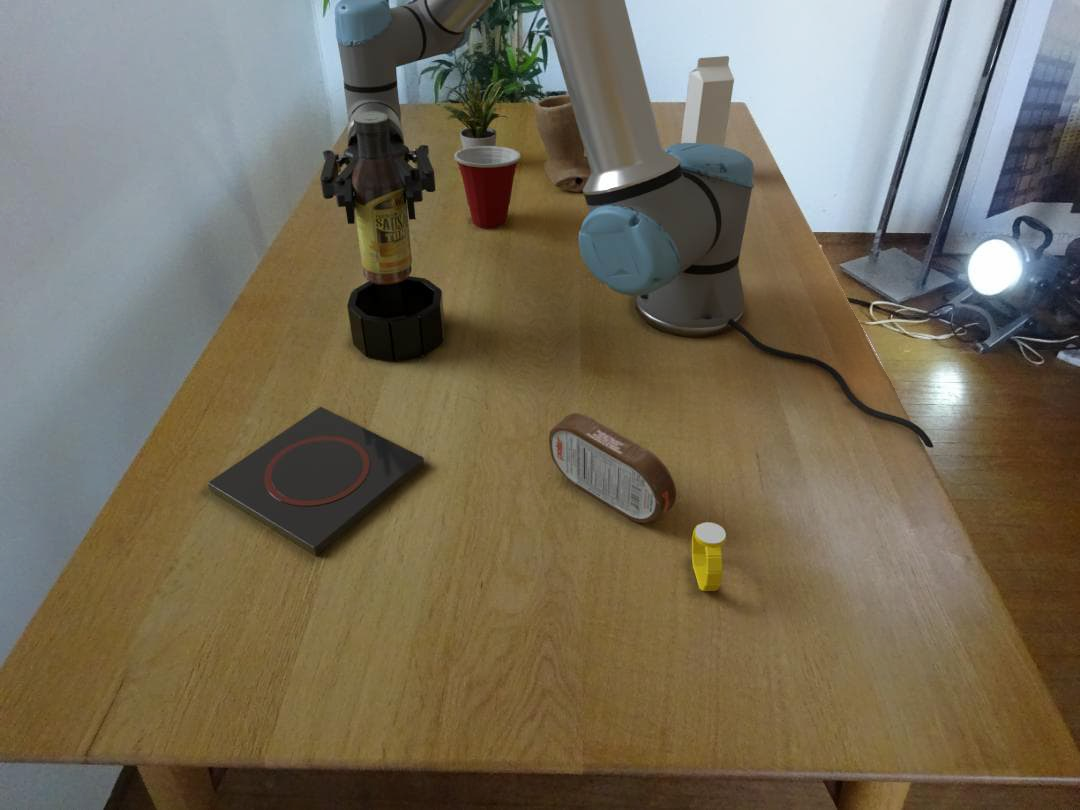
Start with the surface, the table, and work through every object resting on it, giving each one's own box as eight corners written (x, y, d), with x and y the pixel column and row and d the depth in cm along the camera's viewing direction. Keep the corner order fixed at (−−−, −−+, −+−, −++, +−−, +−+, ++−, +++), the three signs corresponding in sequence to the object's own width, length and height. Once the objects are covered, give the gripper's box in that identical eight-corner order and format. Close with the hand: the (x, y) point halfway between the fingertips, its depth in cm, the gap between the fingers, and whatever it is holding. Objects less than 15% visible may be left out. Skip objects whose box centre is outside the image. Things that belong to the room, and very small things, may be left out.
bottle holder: (463, 329, 111) (460, 291, 107) (401, 372, 103) (396, 332, 99) (397, 304, 116) (393, 266, 112) (334, 343, 108) (327, 304, 104)
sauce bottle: (388, 292, 99) (365, 131, 87) (353, 277, 102) (327, 120, 90) (425, 272, 103) (408, 115, 91) (390, 258, 106) (370, 105, 94)
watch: (724, 602, 74) (734, 558, 70) (694, 603, 74) (703, 559, 70) (710, 552, 79) (718, 509, 75) (682, 553, 79) (689, 510, 75)
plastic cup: (524, 209, 142) (524, 142, 135) (517, 236, 134) (516, 166, 126) (463, 206, 143) (460, 139, 136) (452, 233, 134) (448, 163, 127)
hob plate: (424, 465, 89) (423, 456, 88) (316, 556, 78) (313, 547, 77) (322, 414, 96) (320, 405, 95) (209, 491, 85) (206, 481, 84)
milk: (718, 183, 152) (738, 60, 139) (689, 186, 151) (706, 63, 137) (705, 171, 157) (722, 51, 143) (676, 174, 156) (691, 53, 142)
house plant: (477, 144, 168) (473, 61, 158) (530, 158, 161) (530, 73, 152) (431, 164, 159) (424, 78, 149) (486, 180, 152) (482, 91, 142)
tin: (673, 525, 82) (683, 462, 77) (655, 541, 80) (663, 479, 75) (562, 457, 90) (564, 397, 85) (543, 471, 88) (544, 411, 83)
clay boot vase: (530, 166, 158) (530, 87, 149) (590, 163, 160) (593, 85, 150) (542, 197, 146) (543, 114, 137) (606, 194, 148) (611, 111, 139)
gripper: (448, 163, 114) (466, 234, 96) (308, 172, 111) (300, 247, 93) (444, 109, 109) (462, 173, 91) (298, 117, 106) (287, 184, 88)
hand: (380, 210), depth 92 cm, fingers closed on sauce bottle, 6 cm apart
